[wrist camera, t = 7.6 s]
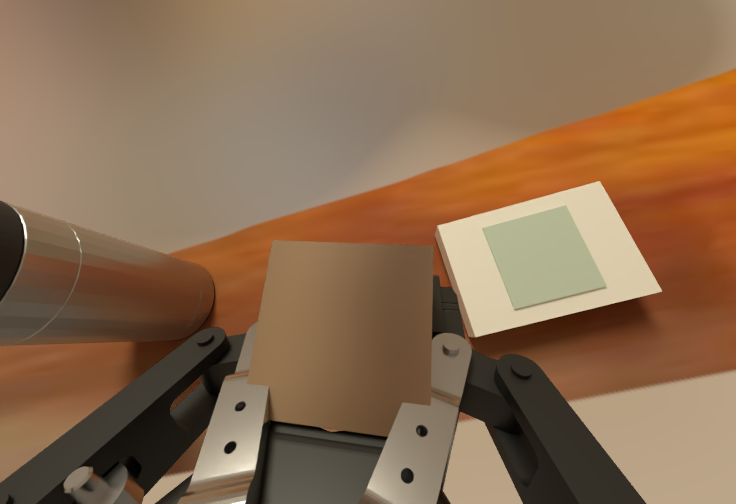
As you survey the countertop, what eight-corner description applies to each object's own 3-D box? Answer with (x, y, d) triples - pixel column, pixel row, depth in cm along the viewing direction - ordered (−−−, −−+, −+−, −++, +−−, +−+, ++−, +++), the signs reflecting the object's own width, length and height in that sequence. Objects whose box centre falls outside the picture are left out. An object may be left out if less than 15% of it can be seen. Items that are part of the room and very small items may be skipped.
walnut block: (337, 368, 17) (240, 416, 7) (345, 289, 18) (272, 240, 8) (417, 376, 16) (429, 443, 6) (419, 294, 17) (433, 245, 7)
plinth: (468, 336, 28) (475, 337, 25) (434, 235, 31) (437, 225, 28) (635, 295, 27) (664, 291, 24) (581, 195, 30) (601, 180, 27)
